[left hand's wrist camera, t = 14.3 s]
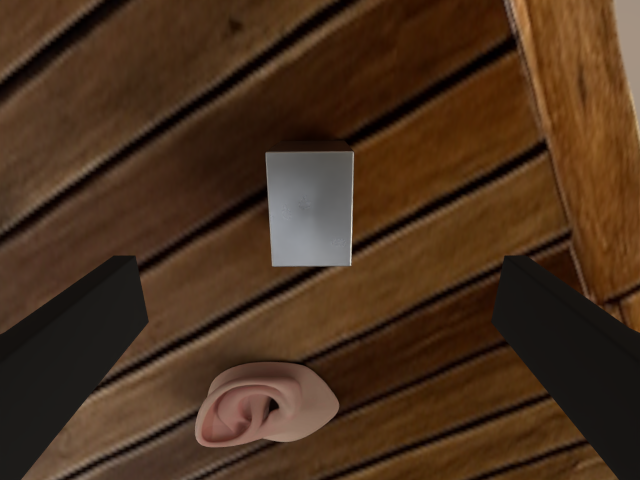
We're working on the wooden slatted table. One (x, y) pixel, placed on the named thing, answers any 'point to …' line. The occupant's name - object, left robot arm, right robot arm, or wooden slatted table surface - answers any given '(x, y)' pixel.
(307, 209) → the block
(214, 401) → the anatomical model
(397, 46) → the wooden slatted table surface
